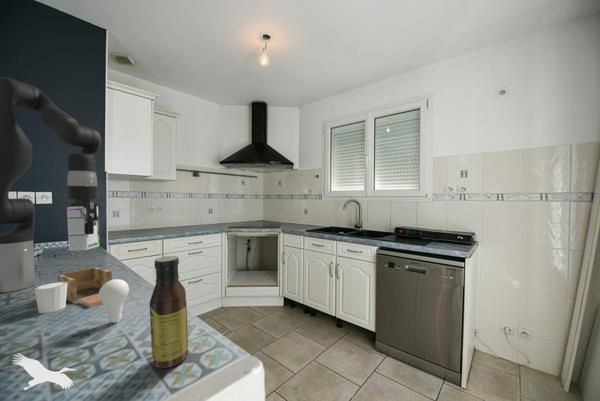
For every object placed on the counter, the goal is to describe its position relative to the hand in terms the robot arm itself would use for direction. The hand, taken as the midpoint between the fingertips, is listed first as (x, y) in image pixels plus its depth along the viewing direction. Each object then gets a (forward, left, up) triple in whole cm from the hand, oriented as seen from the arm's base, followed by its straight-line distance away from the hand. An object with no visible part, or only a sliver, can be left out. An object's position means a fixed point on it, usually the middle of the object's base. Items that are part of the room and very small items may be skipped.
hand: (84, 233), depth 82 cm
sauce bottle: (+59, -7, -21) cm, 63 cm away
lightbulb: (+32, -5, -21) cm, 39 cm away
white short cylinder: (+5, -10, -21) cm, 24 cm away
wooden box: (0, 0, -21) cm, 21 cm away
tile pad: (+11, 0, -21) cm, 23 cm away
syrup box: (0, 0, -5) cm, 5 cm away
